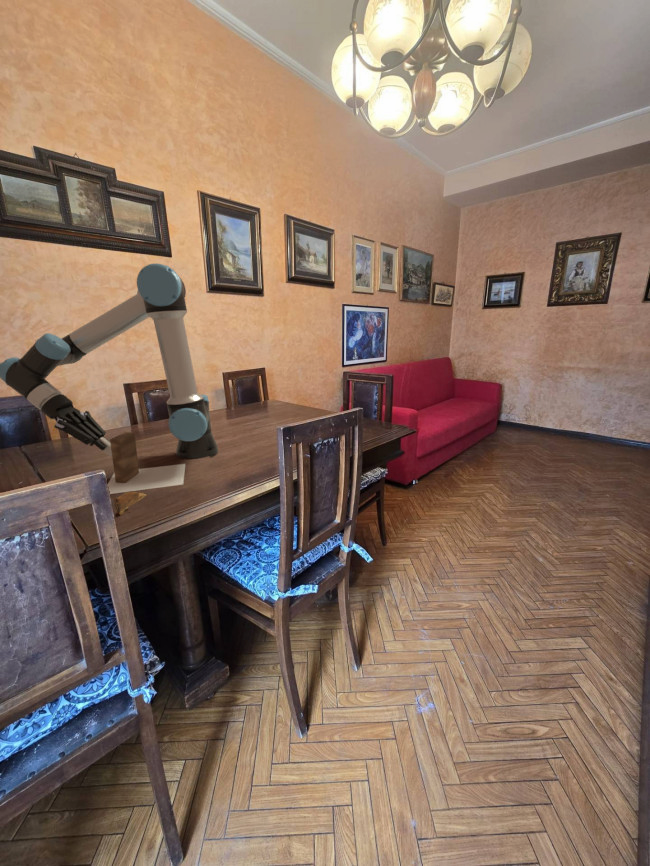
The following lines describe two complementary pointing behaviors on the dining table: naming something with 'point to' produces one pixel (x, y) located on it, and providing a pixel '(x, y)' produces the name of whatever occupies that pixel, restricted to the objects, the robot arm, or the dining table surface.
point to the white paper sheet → (150, 479)
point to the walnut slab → (124, 457)
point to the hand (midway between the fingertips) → (116, 454)
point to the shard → (127, 500)
